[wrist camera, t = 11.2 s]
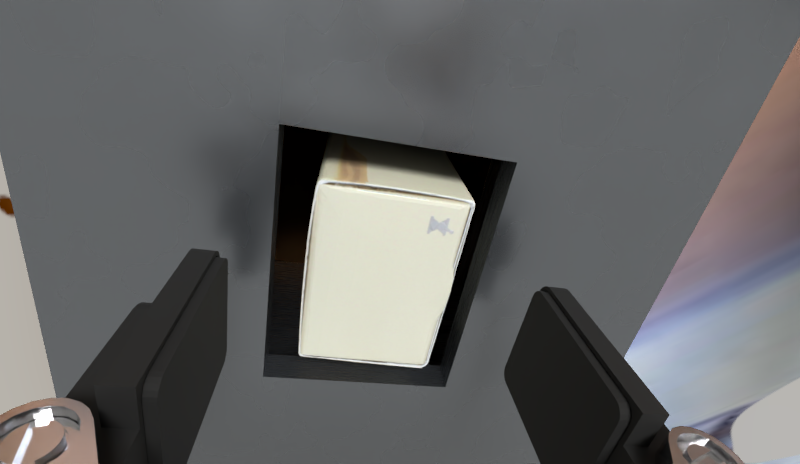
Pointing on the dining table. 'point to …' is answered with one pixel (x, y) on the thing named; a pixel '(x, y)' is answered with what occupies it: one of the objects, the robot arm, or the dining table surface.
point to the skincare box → (381, 251)
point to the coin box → (381, 120)
